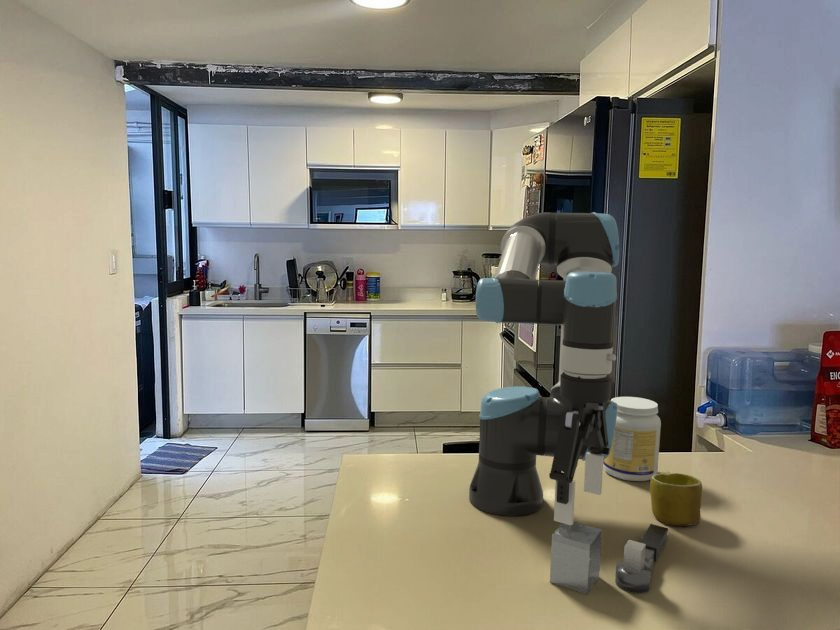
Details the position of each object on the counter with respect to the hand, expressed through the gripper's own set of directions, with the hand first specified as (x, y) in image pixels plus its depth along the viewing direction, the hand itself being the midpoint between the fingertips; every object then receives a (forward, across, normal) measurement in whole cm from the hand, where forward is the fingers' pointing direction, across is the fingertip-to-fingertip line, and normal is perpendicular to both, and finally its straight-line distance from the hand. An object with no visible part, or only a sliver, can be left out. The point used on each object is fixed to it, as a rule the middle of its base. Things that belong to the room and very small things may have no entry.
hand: (578, 506), depth 98 cm
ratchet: (+12, +12, -8) cm, 19 cm away
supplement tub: (+12, +52, +5) cm, 54 cm away
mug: (+12, +35, -8) cm, 38 cm away
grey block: (+12, 0, 0) cm, 12 cm away
